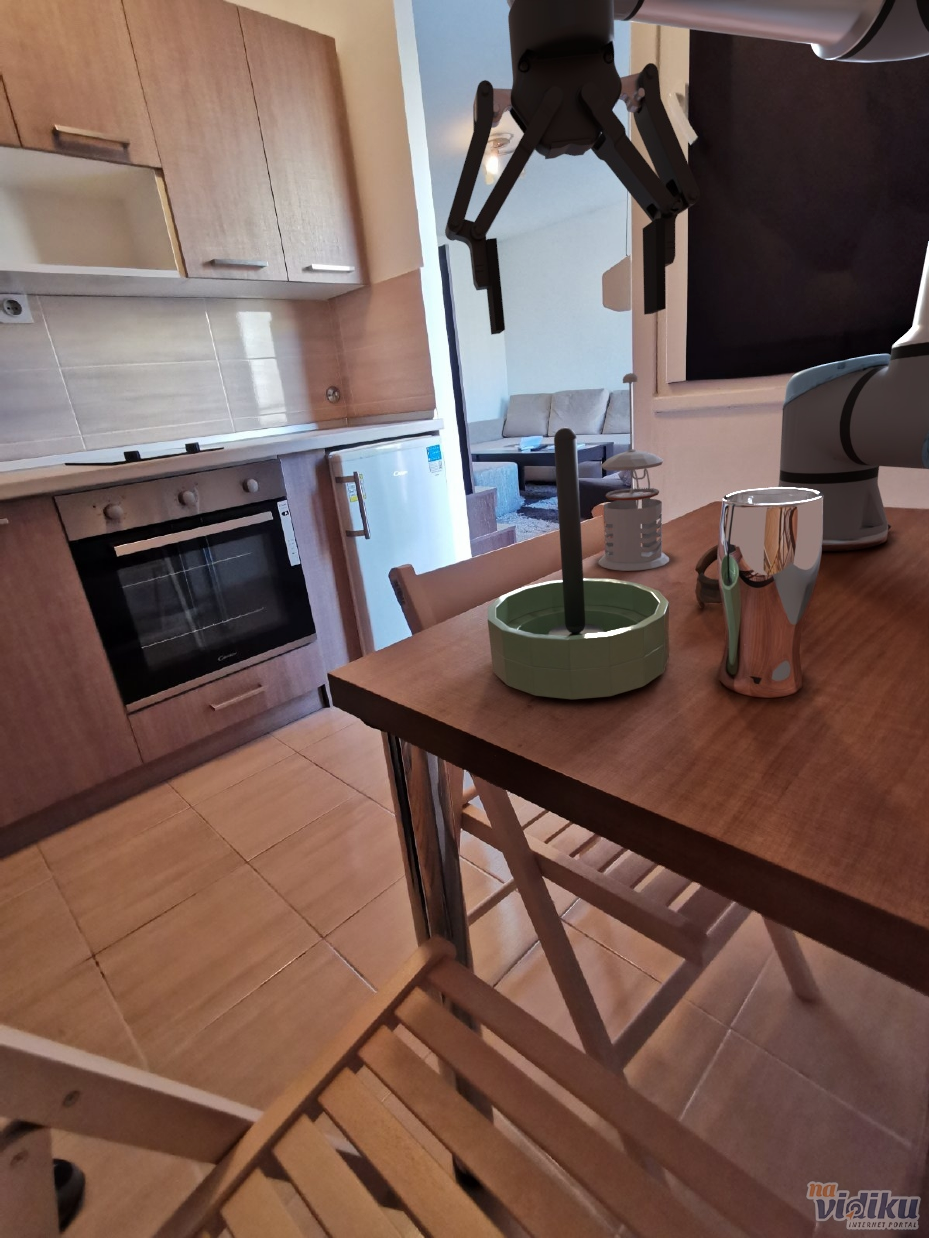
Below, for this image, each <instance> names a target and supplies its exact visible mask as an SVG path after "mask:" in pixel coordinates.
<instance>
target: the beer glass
mask: <svg viewBox="0 0 929 1238" xmlns="http://www.w3.org/2000/svg"><path fill="white" fill-rule="evenodd" d="M823 497H824V495H823V493H821V492H819V491H816V490H810V489H801V488H778V487H768V488H767V487H766V488H765V487H763V488H754V489H745V490H739V491H735V492H731V493H727V494H725V495H724V496H723V497H722V499H721V500H722V503H721V512H720V519H719V526H718V527H719V528H718V536H717V537H718V538H717V545H718V550H717V560H716V561H717V562H716V563H717V565H716V566H717V567H716V568H717V578H718V579H719V588H720V595H721V601H722V603H721V607H722V612H723V613H722V614H723V619H724V626H725V628H724V629H725V640H724V641H725V644H724V650H723V655H722V658H721V663H720V666H719V671H718V680H719V682H720V683H721V684H722V685H723V686H724V687H726V688H727V689H729V690H730V691H732V692H734V693H738V694H740V695H745V696H748V697H754V698H765V699H766V698H767V699H768V698H769V699H770V698H771V699H772V698H773V699H774V698H781V697H787V696H790V695H793V694H795V693H797V692H798V691H800V689H802V686H803V669H802V664H801V639H802V633H803V630H804V626H805V622H806V619H807V615H808V613H809V609H810V606H811V602H812V599H813V596H814V594H815V593H814V592H815V589H816V587H817V581H818V577H819V573H820V569H821V561H822V554H823V551H822V541H823Z"/></svg>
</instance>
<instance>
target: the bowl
mask: <svg viewBox="0 0 929 1238" xmlns="http://www.w3.org/2000/svg"><path fill="white" fill-rule="evenodd" d="M583 583H584V604H585V623H586V624H592V625H596V626H598V627H600V628H602V629H603V631H604V633H596V634H585V635H574V636H558V635H548V633H549V632H550V631H551V630H552V629H553V628H555V627H558V626H561V625H565V614H564V598H563V581H562V579H558V580H549V581H545V582H539V583H536V584H531V585H526V586H523V587H519V588H518V589H514V590H512V591H510V592H508V593H505V594H502V595H500V596H499V597H498V598H497V599H496V600H494V601H493V602H492V603H491V604H490V605H489V606H488V607H487V627H488V628H487V629H488V635H489V645H490V654H491V655H490V656H491V663H492V672H493V674H495V675H496V677H498V678H499V679H500V680H501V681H502V682H503V683H504V684H505V685H506V686H508V687H510V688H513V689H515V690H519V691H522V692H524V693H527V694H529V695H533V696H537V697H546V698H556V699H563V700H582V699H584V700H585V699H595V698H607V697H613V696H615V695H619V694H623V693H627V692H629V691H632V690H636V689H640V688H643V687H645V686H646V685H648V684H649V683H650V682H652V681H653V680H655V679H657V678H658V677H660V675H662V674H663V673H664V672H665V671H666V668H667V664H668V661H669V657H670V602H669V601H668V599H667V598H666V597H665V596H664V595H663V594H662V593H661V592H660V590H657V589H656V588H652V587H649V586H646V585H644V584H641V583H639V582H633V581H627V580H621V579H614V578H595V577H594V578H591V577H590V578H589V577H583Z"/></svg>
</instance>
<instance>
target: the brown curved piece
mask: <svg viewBox="0 0 929 1238" xmlns="http://www.w3.org/2000/svg"><path fill="white" fill-rule="evenodd" d="M717 550H718V544H715V545H714V546H712V547H711V548H710V549H708V550H707V551H705V552H704V553H703V555H702V556H701V557H700V558H699V560H698V561H697V563H696V565H695V572H696V573H697V577H696V584H695V589H694V592H695V597H696V601H697V604H698V606H699V607H700V609H703V608H704V607H705V604H715V605H716V604H718V605H719V604H720V605H721V604H722V601H721V595H720V588H719V579H716V578H710V577H708V576H706V575H705V572H706V571H707V569H708V568H709V567H710V566H711V565H712V564H713V563H714V562H716V561H717Z"/></svg>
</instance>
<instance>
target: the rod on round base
mask: <svg viewBox="0 0 929 1238" xmlns="http://www.w3.org/2000/svg"><path fill="white" fill-rule="evenodd" d="M577 438H578V437H577V434H576V432H575V431H574V430H573V429H572V428H570V427H561V428H560V429H558V430H557V431H556V432H555V433H554V437H553V447H554V463H555V479H556V496H557V497H556V498H557V512H558V513H557V514H558V530H559V545H560V547H559V549H560V563H561V578H562V579H561V580H562V581H563V598H564V614H565V625H561V626H558V627H555V628H553V629H552V630H551V631H550V632H549V633H548V635H558V636H574V635H585V634H596V633H604V631H603V629H602V628H600V627H598V626H596V625H592V624H586V623H585V604H584V583H583V578H584V566H583V565H584V563H583V545H582V525H581V524H582V523H581V505H580V504H581V503H580V502H581V501H580V500H581V499H580V480H579V459H578V458H579V457H578V439H577Z"/></svg>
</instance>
